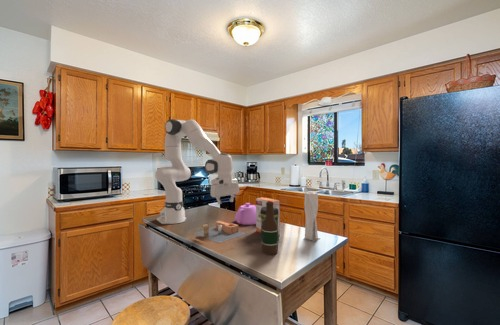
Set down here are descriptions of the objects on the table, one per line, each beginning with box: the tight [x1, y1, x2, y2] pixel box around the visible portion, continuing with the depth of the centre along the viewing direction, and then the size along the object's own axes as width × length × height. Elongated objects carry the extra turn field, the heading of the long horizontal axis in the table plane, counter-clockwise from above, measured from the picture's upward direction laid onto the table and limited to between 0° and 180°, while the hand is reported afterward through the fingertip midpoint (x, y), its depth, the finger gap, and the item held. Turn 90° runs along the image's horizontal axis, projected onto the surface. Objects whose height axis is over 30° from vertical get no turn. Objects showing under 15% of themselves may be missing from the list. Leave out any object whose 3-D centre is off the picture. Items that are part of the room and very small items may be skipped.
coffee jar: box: [260, 206, 280, 242], centre depth 129 cm, size 10×8×19 cm
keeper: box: [202, 224, 210, 238], centre depth 136 cm, size 6×3×7 cm, turn 17°
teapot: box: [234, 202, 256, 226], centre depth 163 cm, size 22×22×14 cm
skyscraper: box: [303, 188, 321, 243], centre depth 133 cm, size 8×8×28 cm
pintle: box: [218, 225, 222, 235], centre depth 139 cm, size 2×2×6 cm
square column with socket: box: [215, 220, 240, 234], centre depth 146 cm, size 16×6×4 cm, turn 47°
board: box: [192, 226, 248, 244], centre depth 140 cm, size 24×21×1 cm
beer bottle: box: [261, 201, 279, 256], centre depth 115 cm, size 8×8×24 cm
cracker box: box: [255, 196, 281, 237], centre depth 140 cm, size 14×6×21 cm, turn 42°
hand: (225, 202), depth 145 cm, fingers open, 8 cm apart
